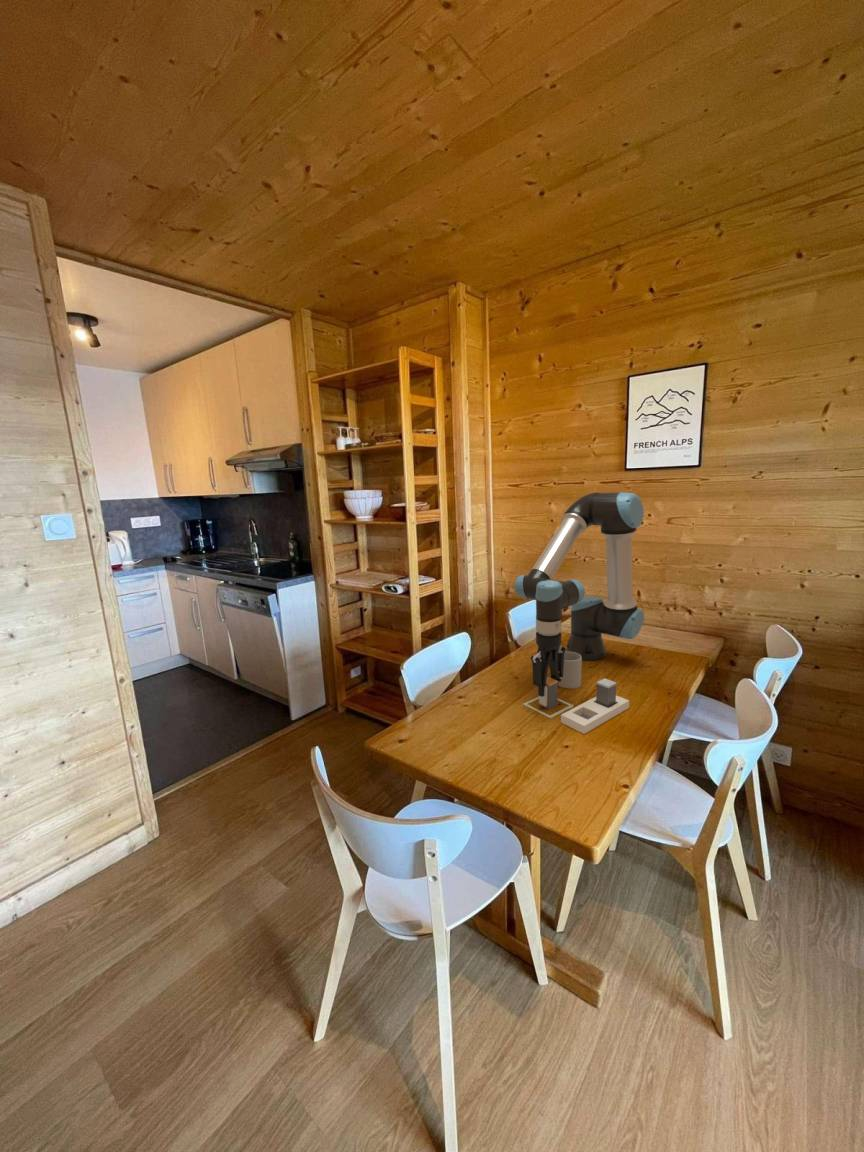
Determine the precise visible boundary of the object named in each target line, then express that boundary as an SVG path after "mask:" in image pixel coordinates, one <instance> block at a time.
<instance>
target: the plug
mask: <svg viewBox="0 0 864 1152" xmlns="http://www.w3.org/2000/svg"><path fill="white" fill-rule="evenodd" d="M546 686H547V706H546V707H545V706H543V705H541V704H539V703H538V706H540V707H542V708H544V709H546V710H548V711H549V710H552V709H554V708H556V707H558V704H559V701H558V699H559V698H558V694H559V693H558V690H559V686H558V681H557V680H555V679H552V678H551V676H550V677H549V676H547V679H546Z"/></svg>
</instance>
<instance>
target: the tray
mask: <svg viewBox="0 0 864 1152" xmlns="http://www.w3.org/2000/svg"><path fill="white" fill-rule="evenodd" d="M535 701H539V696H537V697H535V698H532V699H531V700H529V701H527V702H525V703H523V704H522V705H523V706H525V707H527V708H529V709H531V710H533V711H534V712H536V713H539V714H541V715H543V716H545V717H547V718H548V719H552V718H554V717H556V716H558V715H561V714H563V713H565V711H566V712H567V711H569V709H570V710H571V709H573V707H574V705H573V704H572V703H569V702H567V701H564V700H562V699H561V698H558V702H560V703H562V704H565V705H567V706H566V707H564V708H562V709H560V710H558V711H557V712H554V713H553V714H551V715H549V714H548V713H546V712H544V711H542V710H539V709H538V708H535V707H534V706H531V705H530V704H532V703H533V702H535Z"/></svg>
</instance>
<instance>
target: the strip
mask: <svg viewBox="0 0 864 1152" xmlns="http://www.w3.org/2000/svg"><path fill="white" fill-rule="evenodd" d="M629 708H630V699H629V700H628V699H626V698H624V697H622V696H620V695H619V696H618V695H617V694H616V704H615V705H613V706H611V707H609V708H607V707H605V706H602V705H600V704H598V703H596V696H595V697H592V698H591V699H589V700H587V701H585V702H583V703H580V704H578V705H577V706H575V707H574V708H573V707H572V708H570V710H569V709H568V710H566V712H565V711H564V712H562V713H561V714H560V723H561V724H563V725H564V726H566V727H569V728H571V729H573V730H575V731H577V732H579V733H581V734H583V735H585V734H587V733H589V732H590V731H592V730H594V729H596V728H597V727H600V726H601V725H602V724H605V723H606V722H607V721H610V720H611V719H612V718H614V717H616V716H618V715H620V714H622V713H623V712H625V711H626V710H629Z"/></svg>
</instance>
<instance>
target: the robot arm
mask: <svg viewBox="0 0 864 1152" xmlns="http://www.w3.org/2000/svg"><path fill="white" fill-rule="evenodd" d="M643 518H644V506H643V503H642V500H641V498H640V497H639V496H638V494H635V493H632V492H624V491H623V492H621V491H619V492H617V491H616V492H591V493H588V494H585V495H584V496H581V497H579V498H578V499H577V500H576V501H575V502H573V503H572V504H571V505H570V506H569V507H568V508H567V509H566V510H565V511H564V513H563V514H562V517H561V518H560V519H561V520H560V521H561V523H560V524H559V526H558V528H557V529H556V531H555V532H554V534H553V535H552V537H551V539H550V540H549V541H548V543H547V545H546V546H545V548H544V549H543V551H542V553H540V556H539V557H538V559H537V560H536V562H535V563H534V565H533V567H532V568H531V570H530V571H529V572H528V574H521V575H519V576H517V577H516V579H515V582H514V586H513V587H514V588H513V589H514V593H515V594H516V595H517V596H518V597H521V598H524V599H526V600H534V601H535V611H536V613H535V631H536V632H535V643H536V644H537V652H536V654H535V655H531V656H530V661H531V663H532V685H534V686H536V687H537V695H538V697H539V699H538V705H539V704H541V705H543V706H545V707H546V706H547V686H546V679H547V677H548V672H549V673H550V678H552V679H555V680H557V681H559V682H561V680H562V679H560V677H563V670H564V653H565V651H570V652H575V653H578V654H580V655H581V657H582V661H598V660H601V659H603V658H605V657H606V653H607V651H606V647H605V644H604V640H603V636H602V634H604V635H609V636H613V637H617V638H620V639H627V640H634V638H636V637H637V636H638V635H639V633H640V631H641V629H642V627H643V624H644V619H645V612H644V611H643V609H641V608H638V601H637V600H636V599H634V596H633V594H634V593H633V538H632V537H633V535H634V534H635V533H636V532H637V528H639V527H640V526H641V525H642V523H643V520H644V519H643ZM591 526H596V527H597V526H598V527H599V526H600V533H601V534H602V535H603V536H604V537H605V555H606V556H605V557H606V559H605V561H606V562H605V563H606V590H607V591H606V592H607V594H606V595H607V598H606V599H605V600H603V598H602V597H600V596H596V595H593V596H592V595H591V596H589V595H588V596H587V595H586V596H585V594H586V592H585V591H586V590H585V586H584V584H582V582H580V581H579V580H577V579H568V580H566V581H562V580H557V579H554V576H555V575H556V574H557V571H558V570H559V568H560V567H561V565H562V563H564V561H565V558H566V557H567V555H569V552H570V551H571V549H572V547H573V546H574V544H575V543H576V541H577V539H578V538H579V536H580V535H581V534H582V533H584V532H586V531H587V529H588V528H589V527H591ZM568 607H570V608H571V609H570V636H569V638H568V640H567V643H566V646H562V633H561V632H562V619H563V618H562V614H563V613H562V612H563V610H564V609H565V608H566V609H567V608H568ZM548 670H549V671H548ZM559 672H560V673H559Z"/></svg>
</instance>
